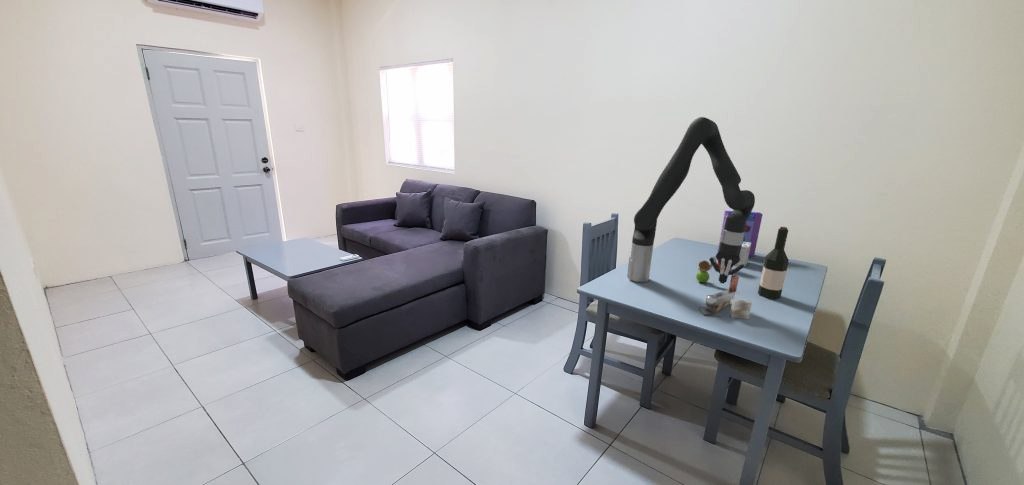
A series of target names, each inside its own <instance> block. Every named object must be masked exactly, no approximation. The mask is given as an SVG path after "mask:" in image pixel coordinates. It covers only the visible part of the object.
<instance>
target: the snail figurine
mask: <svg viewBox="0 0 1024 485" xmlns="http://www.w3.org/2000/svg"><path fill="white" fill-rule="evenodd" d="M709 262H710V261H707V260H704V259H703V260H701V261H699V263H698V268H697V269H698V271H697V273H696V275H695V277H696V280H697V282H700V283H707V282H708V281H709V280H710V273H709V272H708V271H710V270H712V268H713V265H712V264H711V262H710V263H709Z"/></svg>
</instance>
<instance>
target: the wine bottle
mask: <svg viewBox="0 0 1024 485" xmlns="http://www.w3.org/2000/svg"><path fill="white" fill-rule="evenodd" d="M788 234H789V228H788V227H786V226H780V227H779V228H778V230H777V235H776V239H775V243H774V248H773V249H772V250H770V252H768V253H767V254H766V255H765V257H764V261H763V266H762V270H761V271H762V272H761V277H760V281H759V285H758V289H757V290H758V291H757V294H758V295H759V296H760V297H762V298H764V299H768V300H773V301H775V300H779V299H781V297H782V292H783V289H784V284H785V279H786V275H787V270H788V267H789V262H790V260H789V258H788V255H787V254H786V252H785V246H786V242H787V239H788Z"/></svg>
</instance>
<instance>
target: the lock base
mask: <svg viewBox="0 0 1024 485" xmlns="http://www.w3.org/2000/svg"><path fill="white" fill-rule="evenodd" d="M730 304H731V307H730V312H729V316H730V317H731V318H732V319H750V314H751V308H752V305H753V303H752V301H750V300H740V299H732V302H731V300H729V301H726V302H723V303H720V304H717V305H716V306H709V305H707V304H706V303H705V306H698V310H699V311H700V313H701V314H702V315H703V316H704V317H705V316H707V317H721V313H720V312H719V311H720V310H722V309H723V308H725V307H726V306H728V305H730Z"/></svg>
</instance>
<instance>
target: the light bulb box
mask: <svg viewBox="0 0 1024 485" xmlns="http://www.w3.org/2000/svg"><path fill="white" fill-rule="evenodd" d="M750 247H751V243H750V242H743V243H742V247H741V251H740V256H739V257H740V261H741V262H742V263H743V264H745V266H744V268H745V267H746V265H747V263H748V260H749V257H750V256H749V251H750ZM737 265H738V263H737V264H735V265H734V266H736V267H737Z"/></svg>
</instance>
